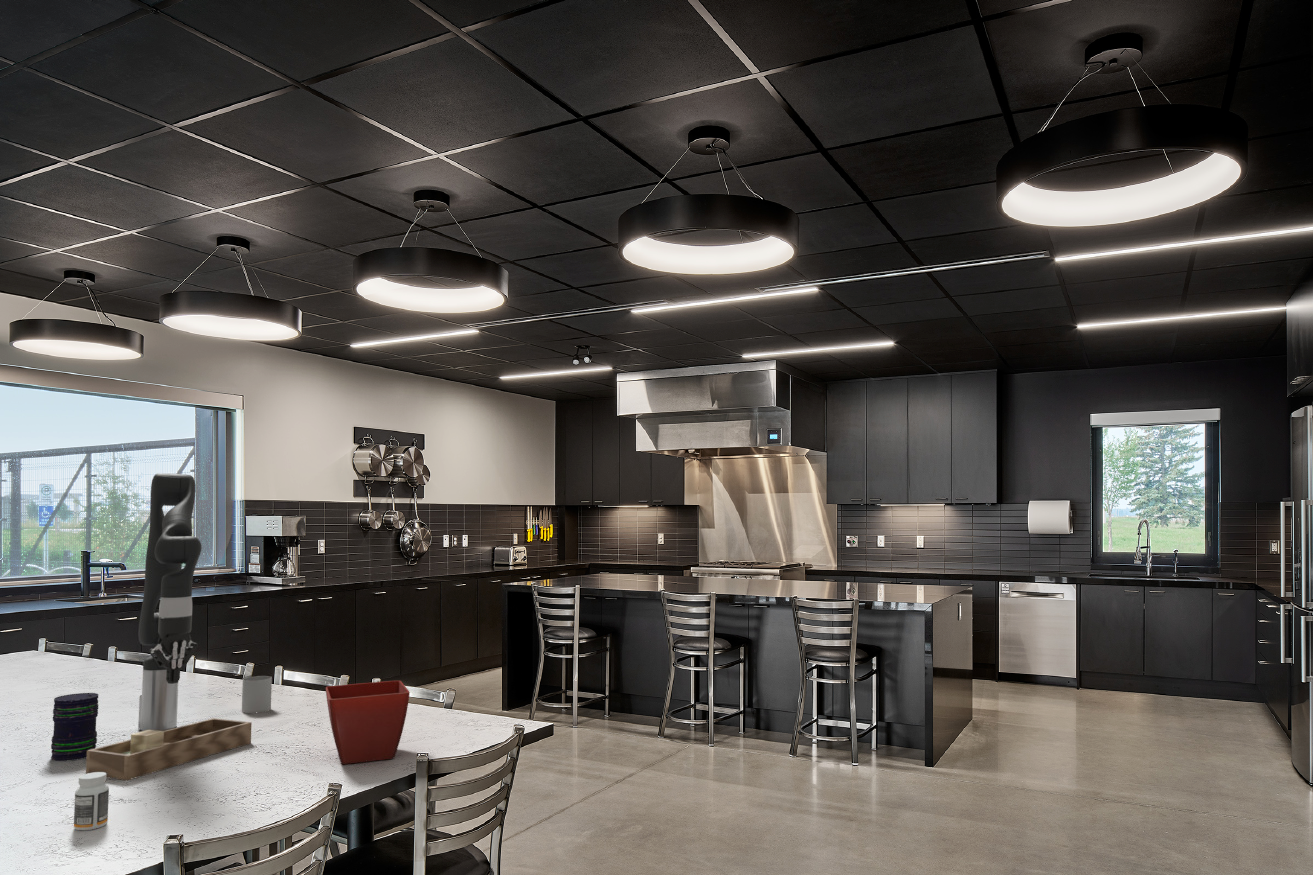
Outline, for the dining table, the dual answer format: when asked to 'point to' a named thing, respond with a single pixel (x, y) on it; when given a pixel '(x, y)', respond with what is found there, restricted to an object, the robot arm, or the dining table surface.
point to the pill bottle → (91, 801)
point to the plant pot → (367, 719)
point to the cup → (256, 694)
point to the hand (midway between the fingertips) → (172, 682)
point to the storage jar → (74, 726)
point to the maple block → (146, 740)
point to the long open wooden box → (169, 749)
